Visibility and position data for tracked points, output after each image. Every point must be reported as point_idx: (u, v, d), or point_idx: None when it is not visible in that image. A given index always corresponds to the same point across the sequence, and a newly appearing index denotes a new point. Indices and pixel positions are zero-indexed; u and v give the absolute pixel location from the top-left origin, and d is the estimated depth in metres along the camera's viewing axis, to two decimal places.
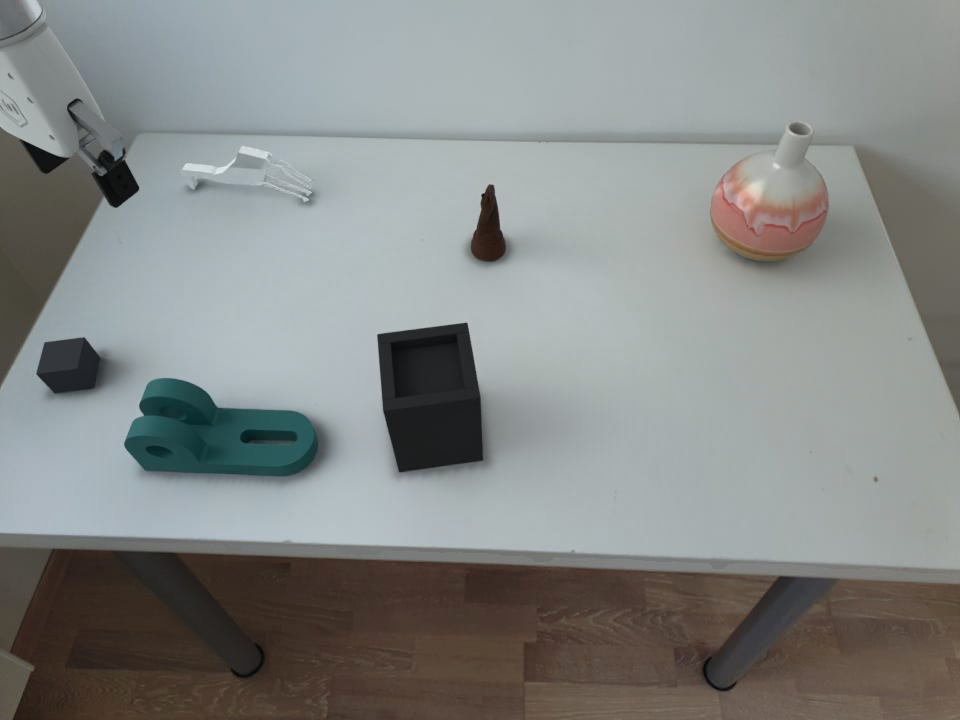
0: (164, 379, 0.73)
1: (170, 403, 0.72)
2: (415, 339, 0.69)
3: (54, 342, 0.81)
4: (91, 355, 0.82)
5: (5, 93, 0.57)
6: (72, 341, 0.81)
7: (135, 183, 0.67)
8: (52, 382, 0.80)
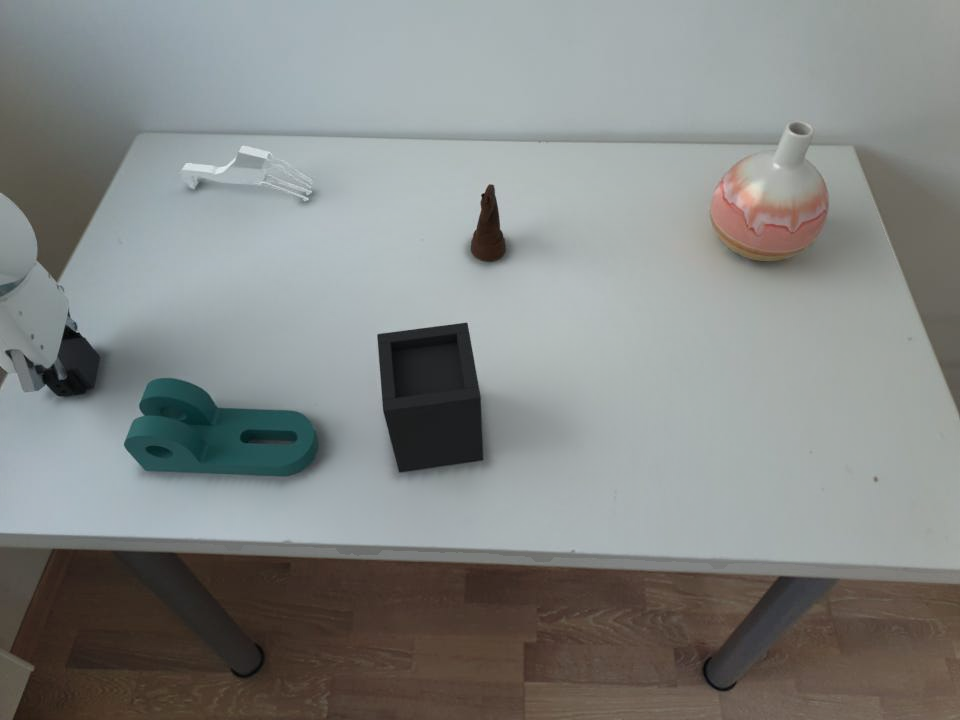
0: (164, 379, 0.73)
1: (170, 403, 0.72)
2: (415, 339, 0.69)
3: None
4: (91, 355, 0.82)
5: None
6: (72, 341, 0.81)
7: (81, 389, 0.81)
8: None
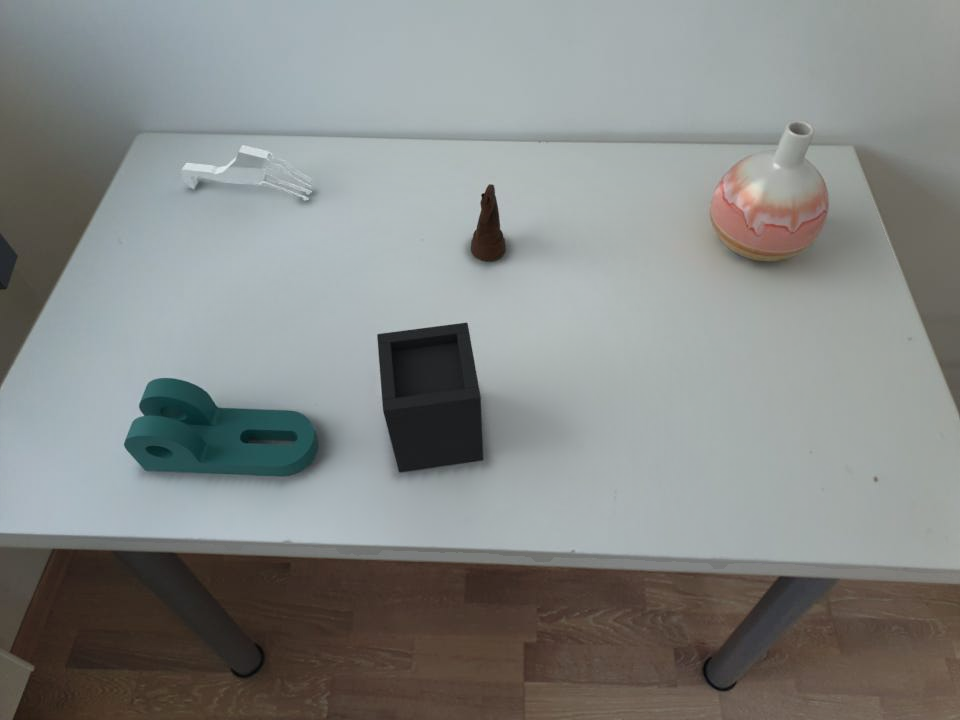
0: (164, 379, 0.73)
1: (170, 403, 0.72)
2: (415, 339, 0.69)
3: None
4: (4, 249, 0.67)
5: None
6: None
7: None
8: None
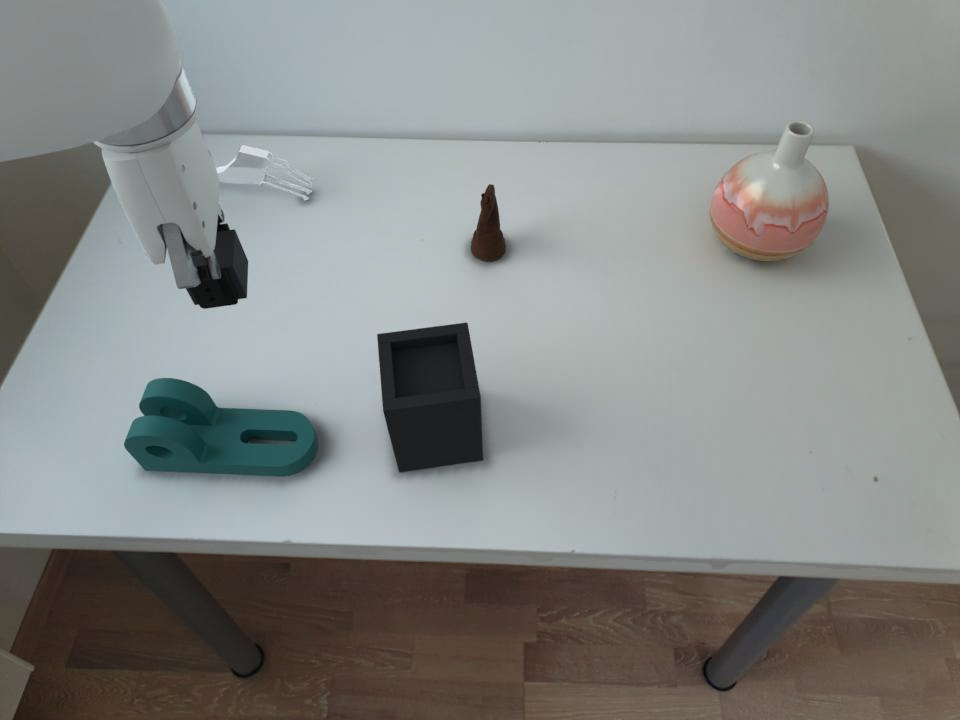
0: (164, 379, 0.73)
1: (170, 403, 0.72)
2: (415, 339, 0.69)
3: None
4: (241, 254, 0.62)
5: None
6: (219, 234, 0.61)
7: (234, 298, 0.60)
8: None
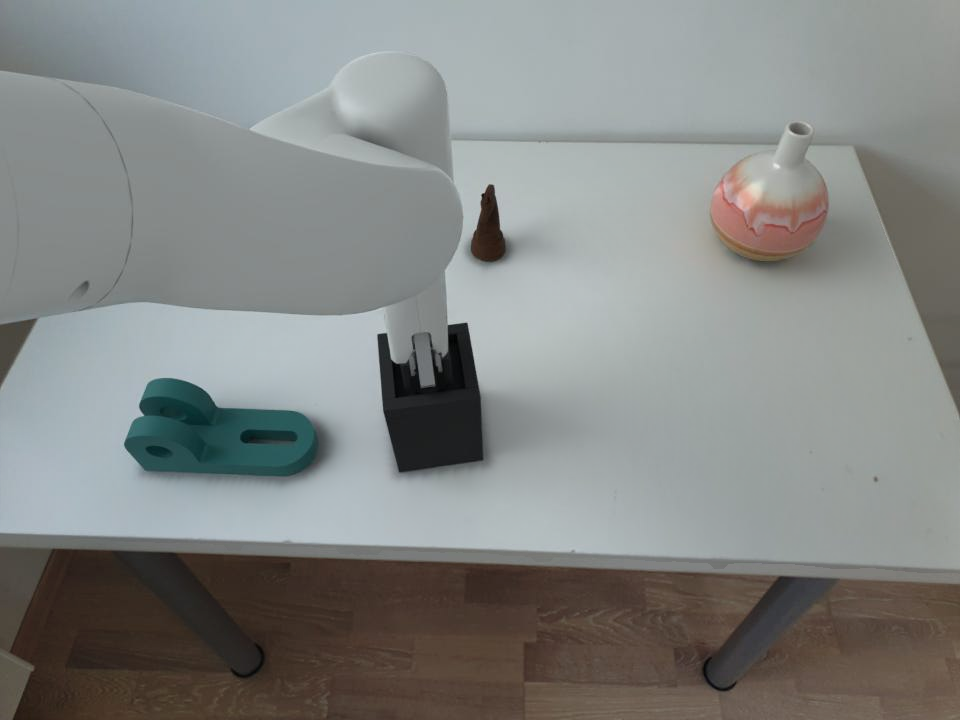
0: (164, 379, 0.73)
1: (170, 403, 0.72)
2: None
3: None
4: None
5: None
6: None
7: (444, 385, 0.65)
8: None
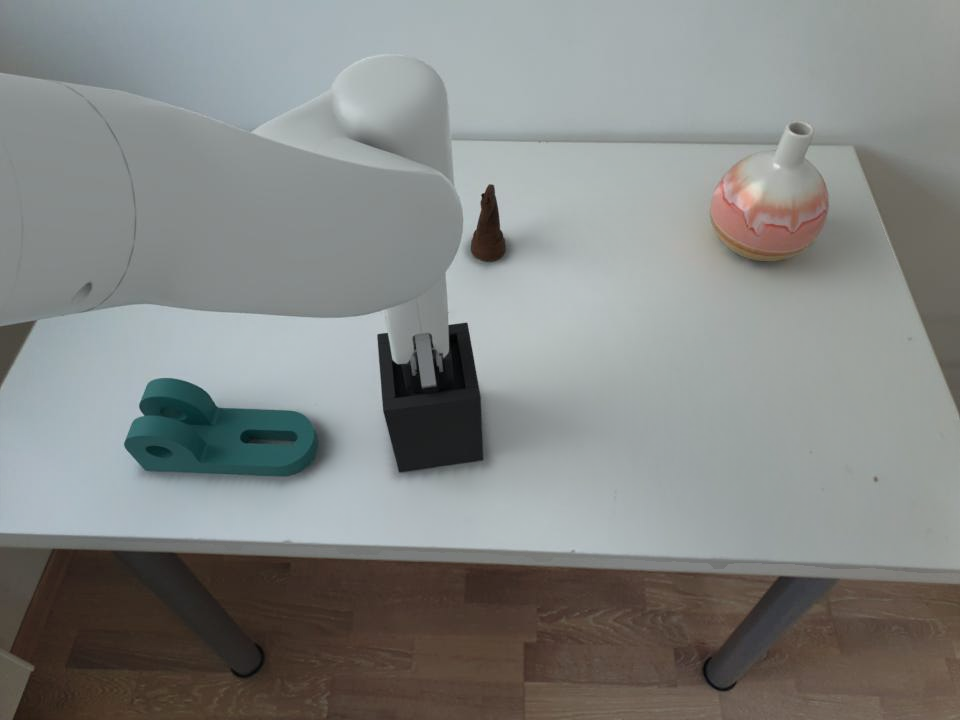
0: (164, 379, 0.73)
1: (170, 403, 0.72)
2: None
3: None
4: None
5: None
6: None
7: (445, 384, 0.65)
8: None
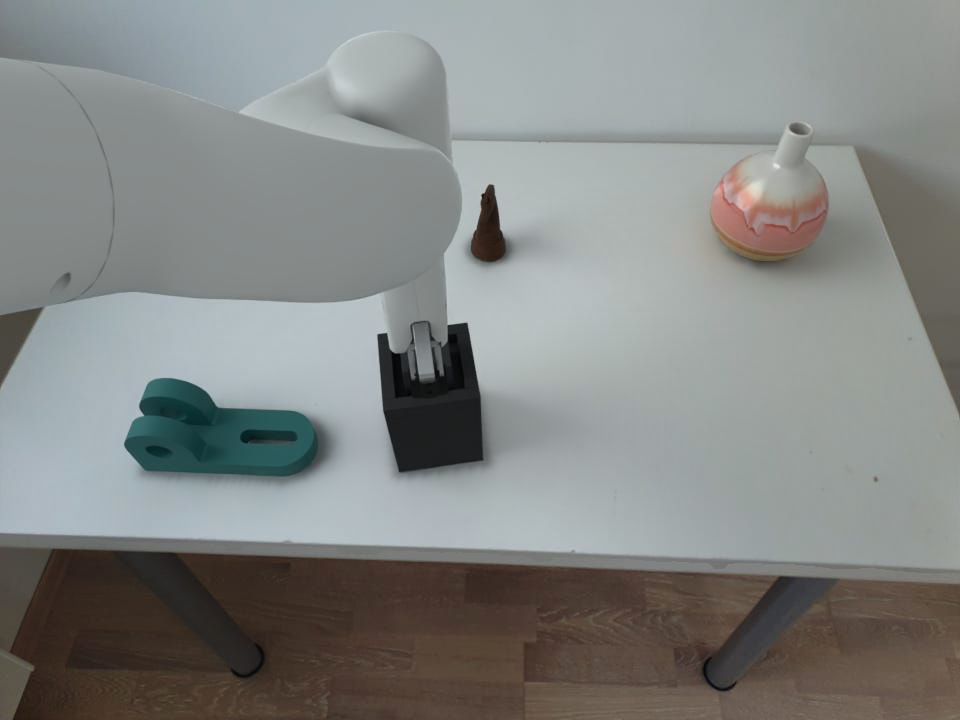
0: (164, 379, 0.73)
1: (170, 403, 0.72)
2: None
3: None
4: None
5: None
6: None
7: (446, 389, 0.62)
8: None
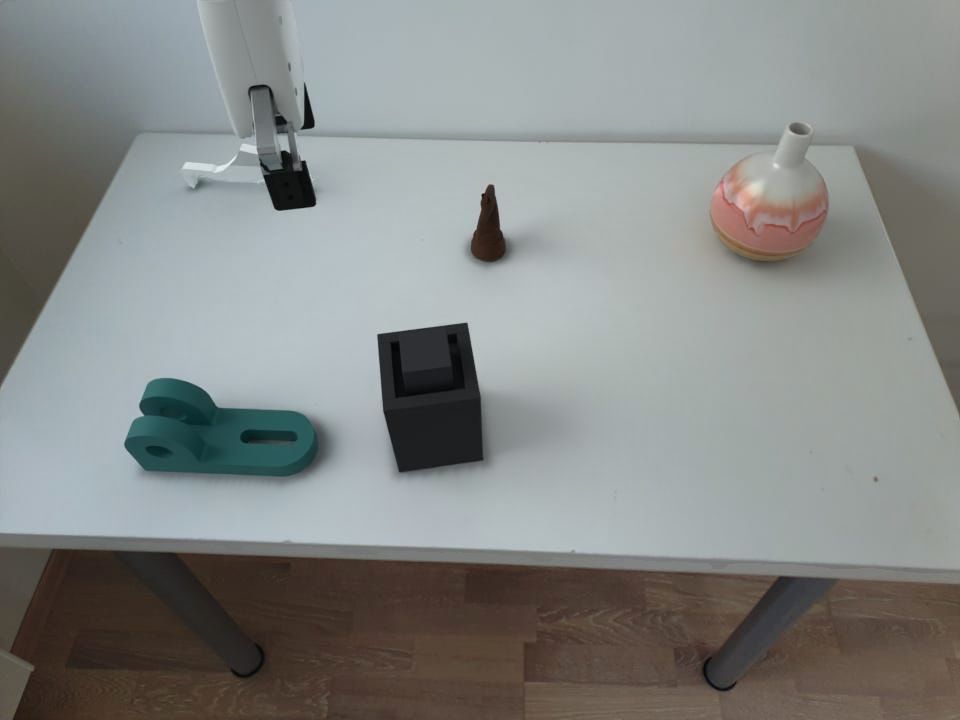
0: (164, 379, 0.73)
1: (170, 403, 0.72)
2: None
3: (411, 334, 0.66)
4: None
5: None
6: (433, 332, 0.66)
7: (312, 198, 0.54)
8: (414, 382, 0.65)
